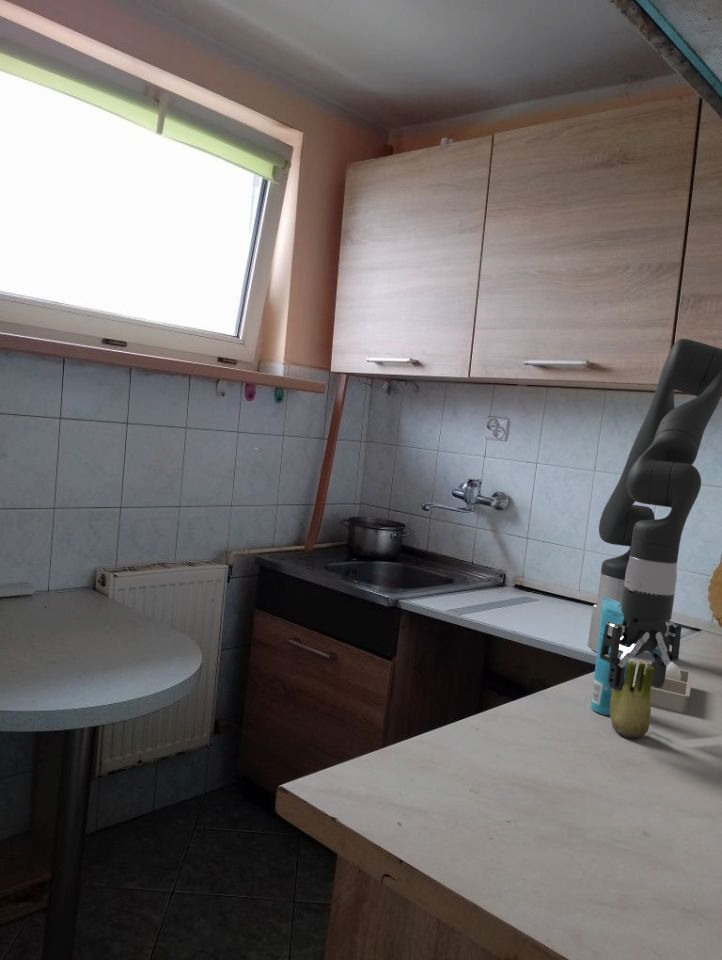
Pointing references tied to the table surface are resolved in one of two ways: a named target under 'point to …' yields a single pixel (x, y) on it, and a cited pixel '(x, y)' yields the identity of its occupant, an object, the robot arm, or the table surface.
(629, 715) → the fennel bulb
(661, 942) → the table surface
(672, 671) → the ceramic egg
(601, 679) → the tube
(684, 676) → the tray
